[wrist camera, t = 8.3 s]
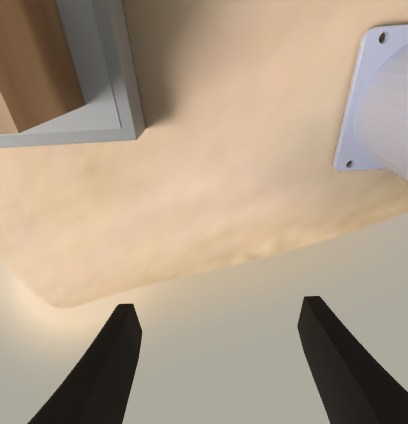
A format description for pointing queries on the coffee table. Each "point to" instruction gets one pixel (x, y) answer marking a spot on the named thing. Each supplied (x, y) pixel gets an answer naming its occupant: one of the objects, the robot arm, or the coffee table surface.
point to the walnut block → (34, 66)
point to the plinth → (94, 80)
